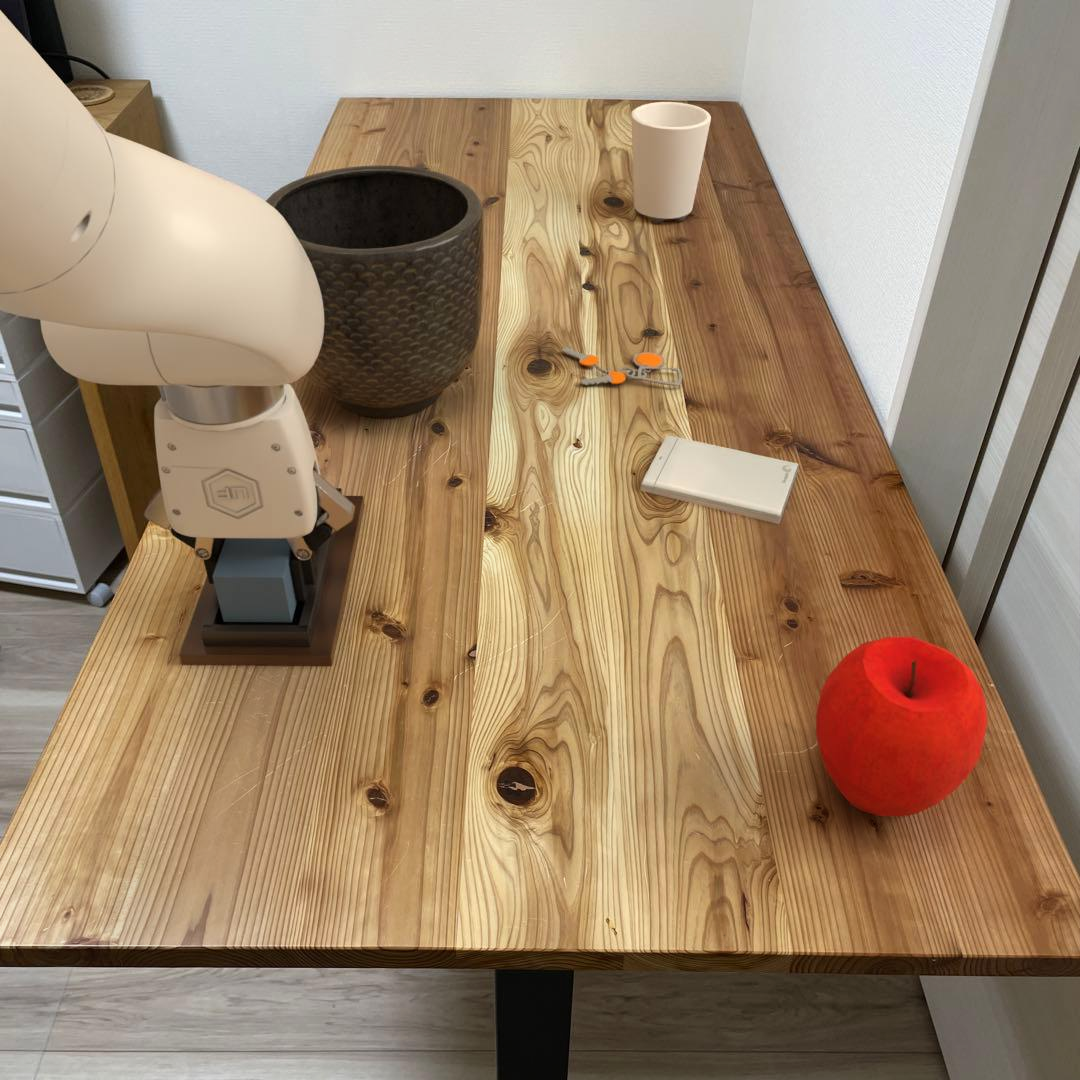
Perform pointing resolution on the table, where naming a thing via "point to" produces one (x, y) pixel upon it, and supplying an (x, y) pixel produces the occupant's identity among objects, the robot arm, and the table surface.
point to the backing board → (281, 641)
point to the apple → (900, 725)
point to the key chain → (625, 368)
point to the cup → (667, 158)
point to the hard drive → (721, 478)
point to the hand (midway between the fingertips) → (266, 586)
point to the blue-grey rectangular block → (255, 580)
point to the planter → (390, 281)
